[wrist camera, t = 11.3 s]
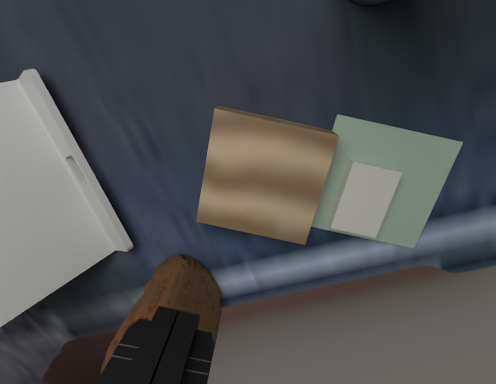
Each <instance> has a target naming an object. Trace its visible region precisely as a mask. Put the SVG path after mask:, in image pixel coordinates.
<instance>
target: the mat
mask: <svg viewBox="0 0 496 384" xmlns="http://www.w3.org/2000/svg"><path fill="white" fill-rule="evenodd" d="M332 131H333V132H335V133H336V134H337V135H339V139H338V142H337V145H336V149H335V152H334V155H333V158H332V161H331V164H330V168H329V171H328V174H327V177H326V180H325V184H324V187H323V190H322V193H321V196H320V199H319V203H318V206H317V209H316V212H315V215H314V218H313V222H312V225H311V227H315V228H320V229H324V230H329V231H334V232H338V233H343V234H348V235H352V236H357V237H361V238H366V239H371V240H375V241H380V242H385V243H389V244H394V245H399V246H403V247H408V248H413V249H414V248H415V245H416V243H417V241H418V239H419V237H420V235H421V232H422V230H423V228H424V226H425V224H426V222H427V220H428V217H429V215H430V213H431V211H432V209H433V207H434V204H435V202H436V200H437V198H438V196H439V194H440V191H441V189H442V187H443V185H444V183H445V181H446V179H447V176H448V174H449V172H450V170H451V168H452V166H453V163H454V161H455V159H456V157H457V155H458V153H459V151H460V148H461V146H462V144H463V142H460V141H456V140H451V139H447V138H442V137H438V136H433V135H429V134H424V133H420V132H415V131H411V130H406V129H402V128H397V127H392V126H388V125H383V124H379V123H374V122H370V121H365V120H361V119H356V118H352V117H347V116H343V115H338V114H337V116H336V119H335V122H334V126H333V129H332ZM349 158H352V159H357V160H361V161H365V162H370V163H374V164H379V165H383V166H387V167H392V168H396V169H397V170H399V171H401V172H402V175H401V178H400V180H399V183H398V185H397V188H396V190H395V192H394V195H393V197H392V200H391V202H390V204H389V207H388V209H387V212H386V214H385V217H384V219H383V221H382V224H381V226H380V229H379V231H378V233H377V236H376V238H373V237H368V236H364V235H359V234H355V233H350V232H346V231H341V230H337V229H332V228H330V226H329V224H328V218H329V215H330V213H331V210H332V207H333V204H334V201H335V198H336V195H337V192H338V189H339V186H340V183H341V180H342V178H343V175H344V172H345V169H346V166H347V163H348V160H349Z"/></svg>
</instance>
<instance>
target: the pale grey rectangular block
mask: <svg viewBox="0 0 496 384" xmlns="http://www.w3.org/2000/svg"><path fill="white" fill-rule="evenodd" d="M401 175H402V172H401V171H399V170H397V169H396V168H392V167H387V166H383V165H379V164H374V163H370V162H365V161H361V160H357V159H352V158H349V160H348V163H347V166H346V169H345V172H344V175H343V178H342V180H341V183H340V186H339V189H338V192H337V195H336V198H335V201H334V204H333V207H332V210H331V213H330V215H329V218H328V224H329V226H330V228H332V229H337V230H341V231H346V232H350V233H355V234H359V235H364V236H368V237H373V238H376V236H377V233H378V231H379V229H380V226H381V224H382V221H383V219H384V217H385V214H386V212H387V209H388V207H389V204H390V202H391V200H392V197H393V195H394V192H395V190H396V188H397V185H398V183H399V180H400V178H401Z"/></svg>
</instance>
